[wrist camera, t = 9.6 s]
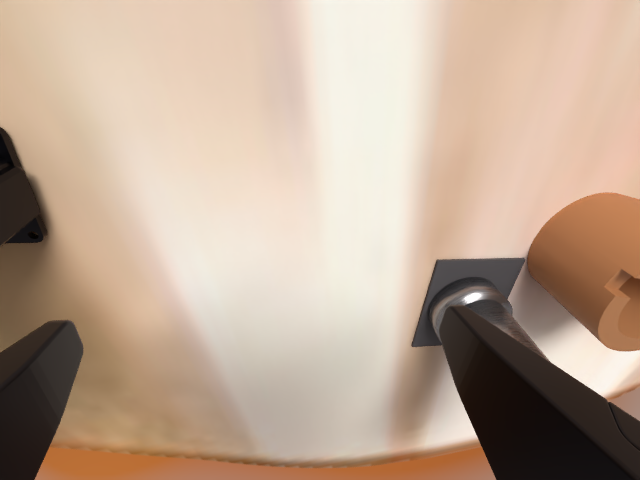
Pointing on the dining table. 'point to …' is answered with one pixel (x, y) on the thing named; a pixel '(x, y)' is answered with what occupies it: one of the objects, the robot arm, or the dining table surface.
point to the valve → (479, 307)
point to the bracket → (594, 265)
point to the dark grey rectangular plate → (449, 271)
